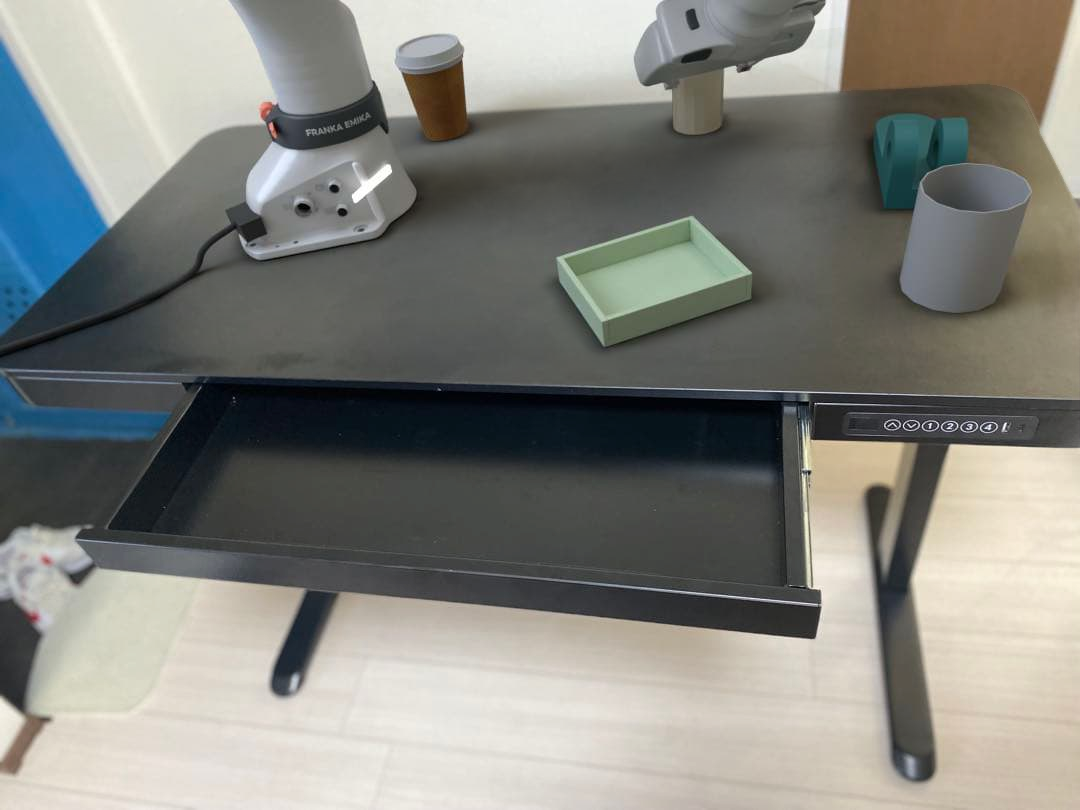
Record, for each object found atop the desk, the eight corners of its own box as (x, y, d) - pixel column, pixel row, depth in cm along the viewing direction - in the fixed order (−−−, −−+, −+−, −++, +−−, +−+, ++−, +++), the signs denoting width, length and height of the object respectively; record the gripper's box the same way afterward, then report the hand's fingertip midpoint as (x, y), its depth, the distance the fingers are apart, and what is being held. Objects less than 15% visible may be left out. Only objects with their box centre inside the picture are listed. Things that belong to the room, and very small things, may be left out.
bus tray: (604, 347, 73) (601, 321, 71) (559, 281, 82) (556, 257, 80) (751, 299, 76) (752, 273, 74) (692, 240, 84) (692, 215, 82)
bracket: (954, 208, 82) (972, 135, 77) (884, 209, 84) (897, 138, 78) (931, 130, 95) (945, 63, 89) (870, 132, 96) (881, 67, 91)
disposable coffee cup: (415, 122, 117) (394, 39, 109) (479, 112, 117) (462, 27, 109) (411, 151, 110) (389, 63, 102) (479, 140, 110) (461, 51, 102)
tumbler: (686, 139, 102) (685, 68, 95) (664, 121, 106) (662, 53, 100) (731, 126, 103) (733, 55, 96) (708, 109, 107) (708, 40, 101)
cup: (1008, 313, 69) (1041, 212, 62) (906, 312, 71) (928, 213, 64) (989, 259, 75) (1018, 161, 68) (895, 259, 77) (914, 164, 70)
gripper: (824, -36, 85) (777, 32, 99) (643, 5, 83) (620, 69, 97) (840, 19, 85) (791, 80, 99) (659, 62, 83) (634, 117, 97)
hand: (705, 75), depth 98 cm, fingers open, 8 cm apart
